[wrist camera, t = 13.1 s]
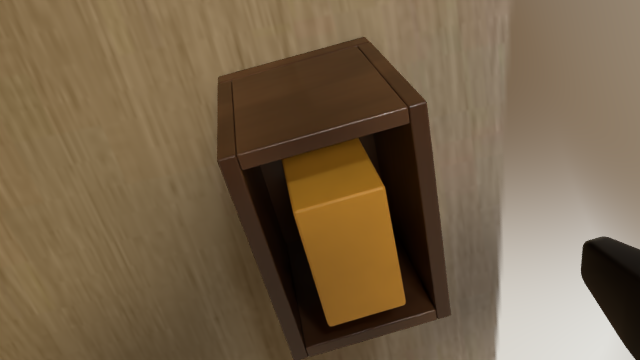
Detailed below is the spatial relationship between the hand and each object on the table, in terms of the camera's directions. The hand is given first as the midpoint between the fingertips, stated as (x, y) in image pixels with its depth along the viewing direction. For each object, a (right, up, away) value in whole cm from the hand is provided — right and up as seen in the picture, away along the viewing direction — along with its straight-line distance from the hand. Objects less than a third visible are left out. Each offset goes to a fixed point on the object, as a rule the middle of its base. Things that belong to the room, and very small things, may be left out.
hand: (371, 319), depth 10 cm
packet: (-1, +3, +6) cm, 7 cm away
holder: (-1, +4, +6) cm, 7 cm away
